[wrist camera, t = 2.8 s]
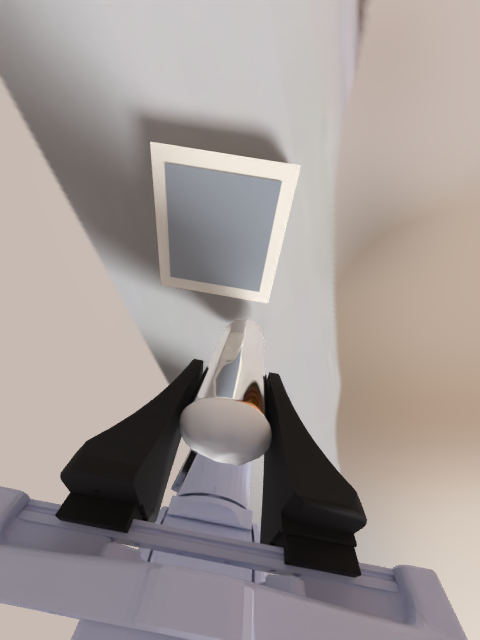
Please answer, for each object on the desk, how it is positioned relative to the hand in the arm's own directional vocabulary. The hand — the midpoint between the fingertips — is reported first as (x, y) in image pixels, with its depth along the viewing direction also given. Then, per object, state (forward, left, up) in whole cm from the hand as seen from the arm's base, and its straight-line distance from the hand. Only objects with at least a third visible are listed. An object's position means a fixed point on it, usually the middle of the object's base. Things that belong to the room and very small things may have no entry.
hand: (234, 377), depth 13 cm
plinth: (+8, +3, -6) cm, 11 cm away
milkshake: (0, 0, -4) cm, 4 cm away
